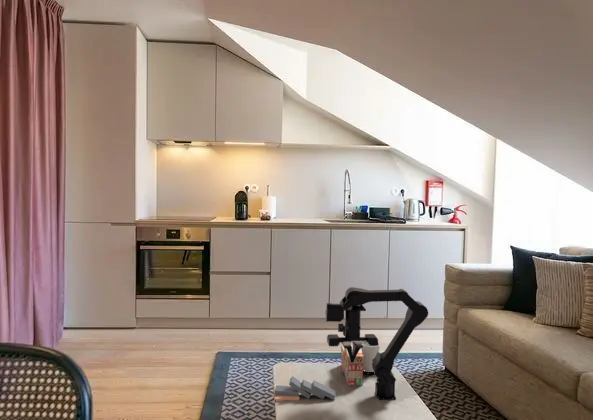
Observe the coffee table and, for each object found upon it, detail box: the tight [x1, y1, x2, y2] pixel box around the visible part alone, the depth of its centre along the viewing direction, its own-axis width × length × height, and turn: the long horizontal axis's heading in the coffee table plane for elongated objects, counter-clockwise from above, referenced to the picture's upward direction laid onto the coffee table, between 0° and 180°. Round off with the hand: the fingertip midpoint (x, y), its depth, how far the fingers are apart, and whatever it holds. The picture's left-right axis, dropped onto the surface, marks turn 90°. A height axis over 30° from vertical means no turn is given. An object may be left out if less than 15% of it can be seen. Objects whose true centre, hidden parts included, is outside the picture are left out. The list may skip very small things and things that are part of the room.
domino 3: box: [288, 375, 312, 400], centre depth 172 cm, size 2×5×9 cm
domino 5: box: [311, 379, 337, 401], centre depth 171 cm, size 2×5×9 cm
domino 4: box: [301, 379, 326, 400], centre depth 171 cm, size 2×5×9 cm
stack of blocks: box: [340, 344, 364, 386], centre depth 192 cm, size 21×6×12 cm, turn 2°
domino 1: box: [274, 384, 300, 397], centre depth 172 cm, size 2×5×9 cm
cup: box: [361, 341, 381, 372], centre depth 196 cm, size 8×8×12 cm
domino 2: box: [273, 392, 300, 402], centre depth 170 cm, size 2×5×9 cm
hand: (351, 362), depth 172 cm, fingers closed
